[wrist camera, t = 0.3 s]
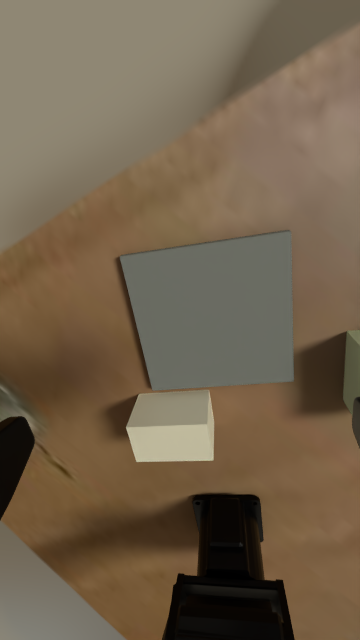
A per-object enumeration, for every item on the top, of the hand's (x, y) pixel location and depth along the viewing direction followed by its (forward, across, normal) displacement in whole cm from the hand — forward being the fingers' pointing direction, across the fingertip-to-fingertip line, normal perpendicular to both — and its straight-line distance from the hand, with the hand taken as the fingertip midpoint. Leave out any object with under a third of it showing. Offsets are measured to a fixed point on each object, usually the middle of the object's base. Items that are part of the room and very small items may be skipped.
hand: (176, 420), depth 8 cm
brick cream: (+14, +4, +11) cm, 18 cm away
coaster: (+14, 0, +3) cm, 14 cm away
